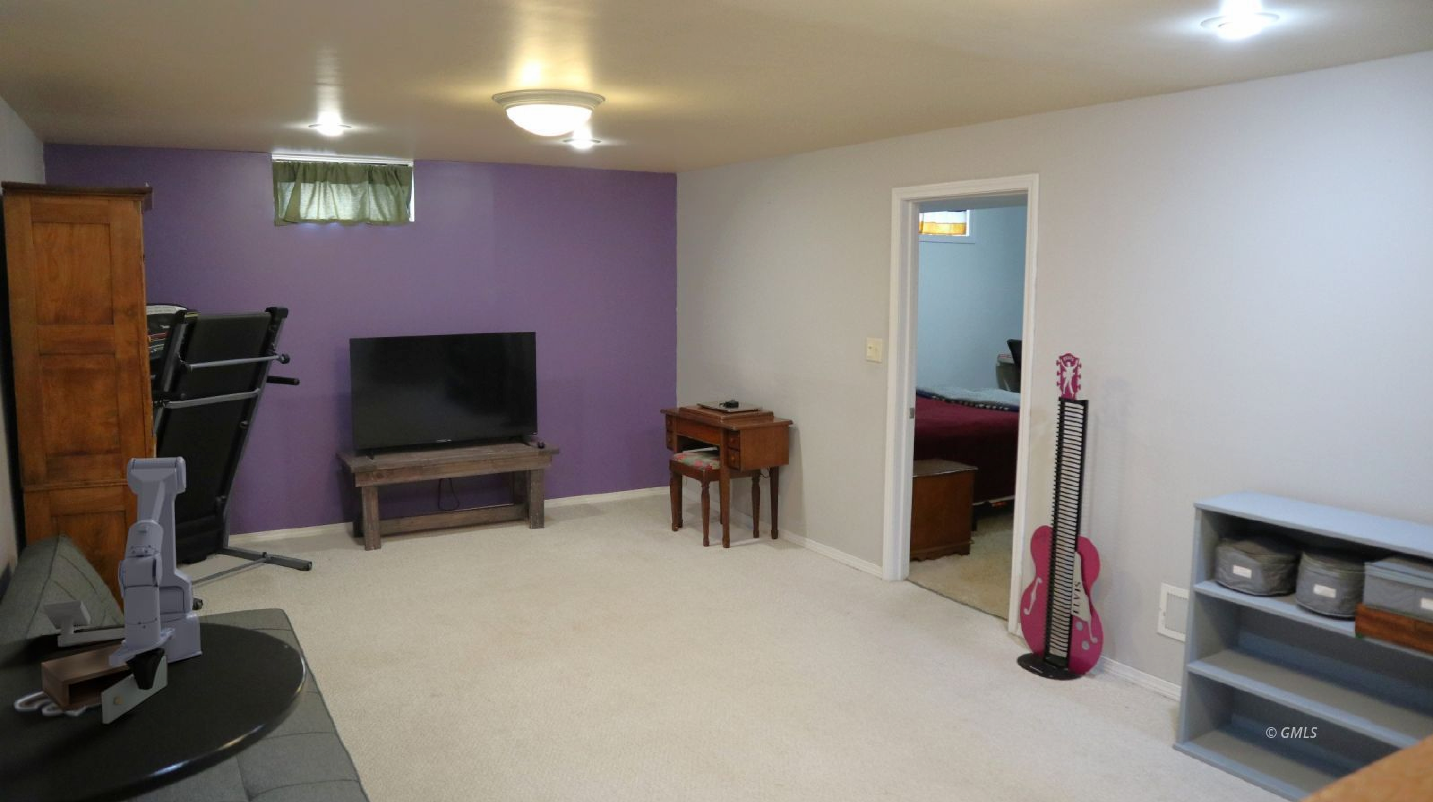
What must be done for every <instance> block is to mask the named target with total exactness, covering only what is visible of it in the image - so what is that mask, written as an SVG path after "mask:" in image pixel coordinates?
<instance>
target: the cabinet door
mask: <svg viewBox="0 0 1433 802" xmlns="http://www.w3.org/2000/svg"><path fill="white" fill-rule="evenodd" d="M167 685H168V684H167V663H166V656H163V657H162V659H161V661H160V663H159V666H158V668H157V671H156V675H155V679H154V683H153V687H152V688H151V689H149V690H141V689H139V688H138V686H137V683H136V680H135V677H134V675H133V674H132V675H130V676H128V677H127V678H125V679H123V680H122V681H120V682H119V683H117V684H115V685H114V686H112V687H110V688H109V689H107V690H105V691H104V692H102V702H101V706H102V707H101V711H102V724H107V725H108V724H111V723H112V722H113V721H115V720H116V719H118V718H119V717H121V716H122V715H123V714H125V713H127V712H129V711H130V710H132V709H133V708H135V707H136V706H138V705H140V703H142V702H143V701H145V700H146V699H148V698H150V697H151V696H153V695H154V694H155V693H157V692H159V691H160V690H162V689H164V688H165V687H166V686H167Z"/></svg>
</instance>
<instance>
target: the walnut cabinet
mask: <svg viewBox="0 0 1433 802" xmlns="http://www.w3.org/2000/svg"><path fill="white" fill-rule="evenodd" d="M121 646H122V643H119V644H115V645H111V646H107V647H103V648H99V649H94V650H90V651H86V652H85V651H84V652H81V653H77V654H74V655H73V654H72V655H70V656H68V655H67V656H64V657H61V658H55V659H52V660H47V661H44V662H41V677H42V680H41V681H42V682H41V683H42V692H43V694H44V695H45V696H46V697H47V698H48V699H49V700H50V701H51V702H53V704H54V705H55V706H56V707H57V708H59V709H60V710H61V712H62V713H64V712H65V713H66V712H68V711H73V710H76V709H79V708H83V707H87V706H91V705H94V704H98V703H102V692H104V691H105V690H107V689H109V688H110V687H112V686H114V685H115V684H117V683H119V682H120V681H122V680H123V679H125V678H127V677H128V676H130V675H132V674H133V673H132V671H131V670H130V668H129V667H128V665H127V664H126V663H125V662H124V663H123V665H122V666H120V667H116V666H109V656H110V655H112V654H113V653H115V652H116V651H117V650H118V649H119V648H120V647H121ZM164 656H166V663H167V685H168V684H169V669H168V668H169V666H168V664H169V663H168V662H167V654H166V653H165V654H164Z"/></svg>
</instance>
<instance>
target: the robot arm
mask: <svg viewBox="0 0 1433 802" xmlns="http://www.w3.org/2000/svg"><path fill="white" fill-rule="evenodd" d="M186 468H187V467H186V461H185V459H184V458H183V457H182V456H177V457H155V458H153V457H150V458H135V457H133V458H131V459H130V460H129V461H128V462H127V466H126V480H127V486H128V487H129V488H130V489H131V492H132V494H135V495H137V510H136V511H137V514H136V515H137V516H136V517H137V518H136V522H135V523H133V524H132V525H131V526H130V527H129V529H128V535H127V539H126V546H125V547H126V548H125V554H124V560H120V561H119V562H118V570H117V579H118V584H119V588H120V596H121V599H123V615H124V618H123V619H124V628H125V638H124V640H122V641H121V643H120V644H122V646H121V647H120V648H119V649H118V650H117V651H116V652H115V653H113V654H112V655H110V656H109V666H116V667H120V666H122V665H123V663H124V662H125V663H126V664H127V665H128V667H129V668H130V670H131V671H132V673H133V675H134V677H135V680H136V683H137V686H138V688H139V689H141V690H149V689H151V688H152V687H153V683H154V679H155V675H156V671H157V668H158V666H159V663H160V661H161V659H162V657H163V656H164V654H165V653H166V654H167V662H168V664H170V663H174V662H176V661H181V660H184V659H188V658H192V657H197V656H200V655H203V652H202V651H201V628H200V620H199V617H198V614H197V613H196V612H195V611H194V610H193V606H194V590H193V589H194V588H193V584H192V578H191V576H190V575H188V574H187V573H185V572H183V571H181V570H179V569H178V568H177V552H176V551H177V550H176V519H175V516H176V515H175V513H176V512H175V501H176V498H177V495H178V494H181V493H184V492H186V488H187V472H186V471H187V469H186Z"/></svg>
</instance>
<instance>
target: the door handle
mask: <svg viewBox="0 0 1433 802" xmlns="http://www.w3.org/2000/svg"><path fill="white" fill-rule="evenodd" d="M42 606H43V607H42V608H43V611H44V613H45V615H46V616H47V618H48V619H49V621H50V623H51V624H52V625H53V627H54V628H55V630H60V634H59V635H58V636H57V646H58V647H59V648H66V647H73V646H77V645H80V644H84V643H90V642H101V641H102V642H103V641H113V640H120V639H125V627H122V628H121V627H120V628H113V629H111V628H110V629H105V630H104V629H103V630H102V629H101V630H93V631H85V632H74V631H75V629H74V628H78V627H84V626H89V625H90V624H91V620H92V619H91V617H90V615H89V612H88V610H87V608H86V606H85V605H84V602H83V600H82V599H75V600H68V601H60V602H52V603H45V604H43V605H42Z"/></svg>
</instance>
